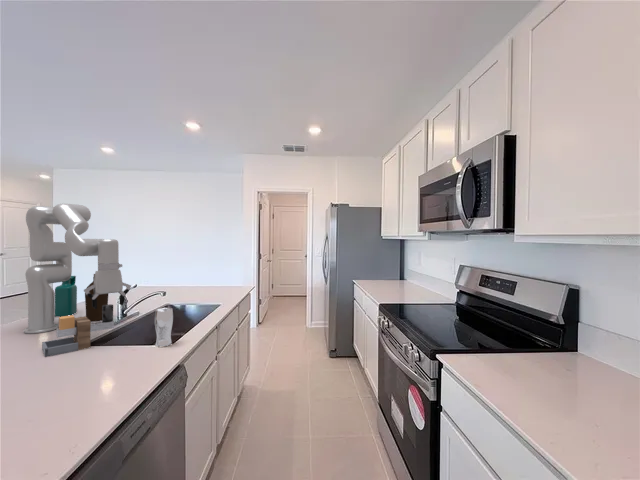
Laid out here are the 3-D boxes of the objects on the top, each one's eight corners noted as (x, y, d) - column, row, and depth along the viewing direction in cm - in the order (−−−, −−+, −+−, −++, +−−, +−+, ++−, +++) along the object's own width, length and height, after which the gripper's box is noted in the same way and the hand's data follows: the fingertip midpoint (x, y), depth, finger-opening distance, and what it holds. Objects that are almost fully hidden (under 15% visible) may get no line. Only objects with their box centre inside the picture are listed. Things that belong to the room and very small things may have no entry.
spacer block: (58, 327, 125) (58, 316, 125) (72, 325, 128) (72, 315, 128) (60, 330, 122) (60, 318, 122) (74, 327, 125) (74, 317, 125)
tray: (42, 349, 123) (42, 342, 123) (73, 343, 131) (73, 336, 131) (45, 357, 116) (45, 349, 116) (78, 350, 123) (78, 342, 123)
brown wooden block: (73, 343, 130) (73, 318, 130) (85, 341, 133) (85, 316, 133) (78, 350, 123) (78, 322, 123) (90, 347, 126) (90, 320, 126)
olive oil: (112, 318, 171) (112, 273, 171) (90, 323, 162) (90, 275, 162) (102, 315, 176) (103, 272, 176) (80, 320, 167) (81, 274, 167)
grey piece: (56, 335, 124) (56, 310, 124) (111, 326, 138) (112, 304, 138) (57, 338, 121) (57, 312, 121) (114, 328, 135) (114, 305, 135)
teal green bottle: (70, 316, 175) (71, 277, 175) (53, 317, 173) (53, 277, 172) (79, 312, 184) (79, 275, 184) (62, 312, 182) (62, 275, 182)
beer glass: (167, 347, 127) (167, 311, 127) (150, 347, 128) (151, 311, 128) (175, 341, 134) (176, 307, 134) (160, 341, 135) (160, 307, 134)
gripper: (128, 265, 144) (128, 302, 144) (82, 268, 131) (82, 308, 131) (133, 266, 138) (133, 304, 138) (85, 269, 126) (85, 311, 126)
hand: (108, 306), depth 135 cm, fingers open, 9 cm apart
